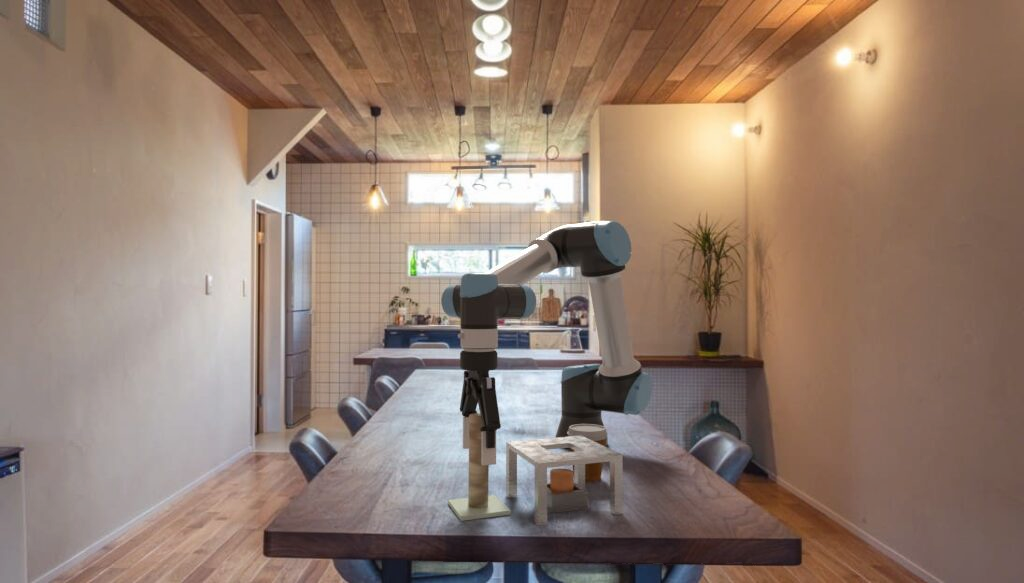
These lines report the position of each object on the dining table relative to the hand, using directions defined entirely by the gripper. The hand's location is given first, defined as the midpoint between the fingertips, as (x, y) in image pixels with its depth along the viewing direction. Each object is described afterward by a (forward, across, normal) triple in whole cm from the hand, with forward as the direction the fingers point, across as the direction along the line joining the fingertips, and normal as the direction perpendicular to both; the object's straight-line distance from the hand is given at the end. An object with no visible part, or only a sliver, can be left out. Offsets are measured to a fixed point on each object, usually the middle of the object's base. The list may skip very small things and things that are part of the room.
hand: (478, 455), depth 120 cm
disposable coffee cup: (+11, -11, +30) cm, 34 cm away
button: (+10, +3, +17) cm, 20 cm away
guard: (+11, +3, +17) cm, 20 cm away
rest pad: (+11, 0, 0) cm, 11 cm away
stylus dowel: (+10, 0, 0) cm, 10 cm away
